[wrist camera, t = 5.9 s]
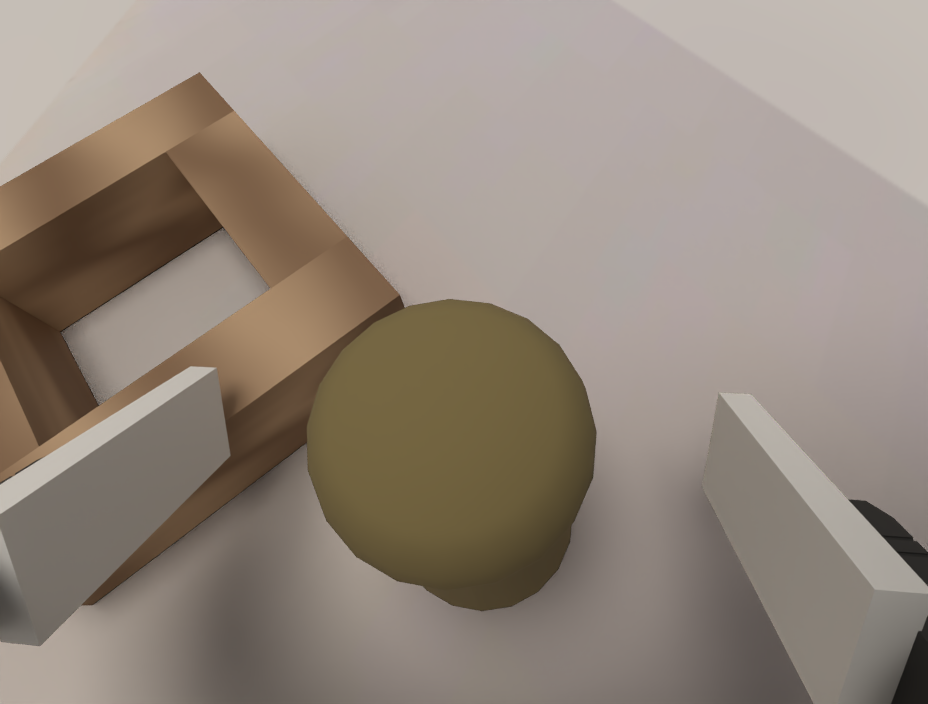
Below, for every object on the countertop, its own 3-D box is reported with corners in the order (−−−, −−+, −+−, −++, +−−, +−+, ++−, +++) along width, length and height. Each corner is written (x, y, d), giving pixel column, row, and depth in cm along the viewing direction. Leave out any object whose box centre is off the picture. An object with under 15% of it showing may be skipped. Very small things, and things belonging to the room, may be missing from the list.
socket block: (248, 154, 26) (199, 72, 22) (422, 354, 21) (399, 294, 17) (-29, 326, 24) (-143, 268, 20) (91, 605, 18) (-30, 606, 14)
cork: (387, 609, 18) (214, 618, 8) (399, 426, 20) (281, 252, 10) (579, 612, 17) (664, 626, 7) (566, 424, 20) (617, 238, 10)
